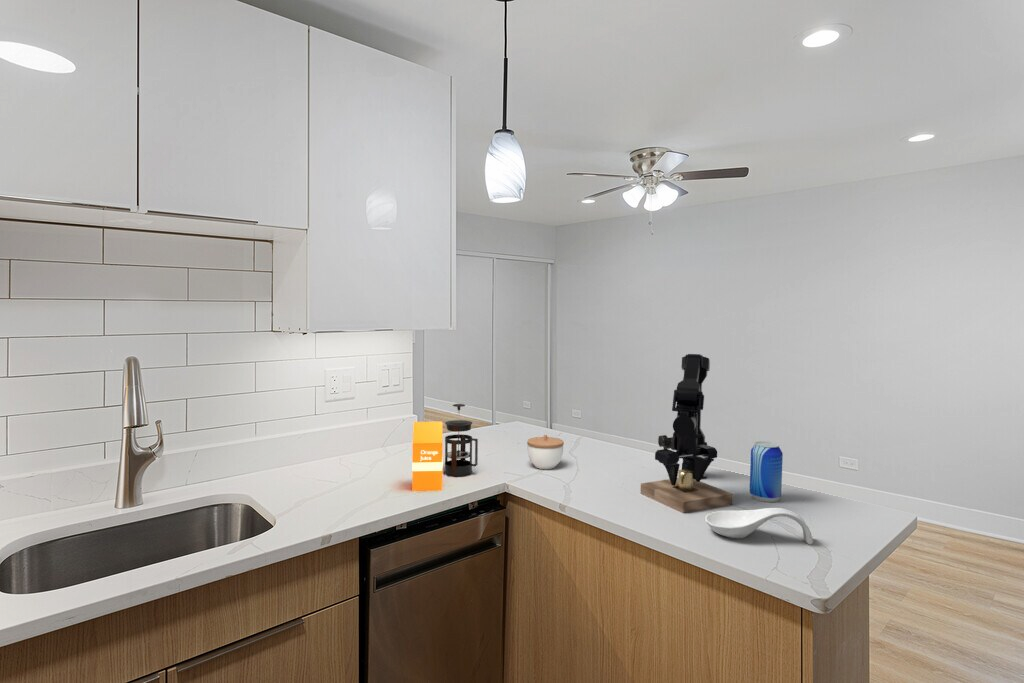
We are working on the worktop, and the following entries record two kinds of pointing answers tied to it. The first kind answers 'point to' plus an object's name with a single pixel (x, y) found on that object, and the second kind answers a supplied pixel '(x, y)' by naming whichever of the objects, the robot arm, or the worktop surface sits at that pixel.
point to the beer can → (766, 471)
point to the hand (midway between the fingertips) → (685, 483)
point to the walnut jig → (686, 495)
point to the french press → (460, 466)
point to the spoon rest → (750, 521)
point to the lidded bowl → (545, 451)
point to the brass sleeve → (685, 480)
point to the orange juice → (427, 456)
